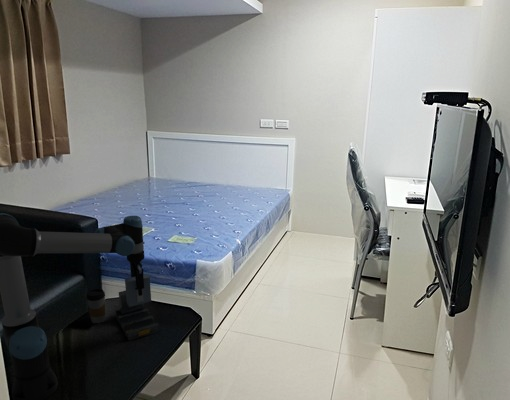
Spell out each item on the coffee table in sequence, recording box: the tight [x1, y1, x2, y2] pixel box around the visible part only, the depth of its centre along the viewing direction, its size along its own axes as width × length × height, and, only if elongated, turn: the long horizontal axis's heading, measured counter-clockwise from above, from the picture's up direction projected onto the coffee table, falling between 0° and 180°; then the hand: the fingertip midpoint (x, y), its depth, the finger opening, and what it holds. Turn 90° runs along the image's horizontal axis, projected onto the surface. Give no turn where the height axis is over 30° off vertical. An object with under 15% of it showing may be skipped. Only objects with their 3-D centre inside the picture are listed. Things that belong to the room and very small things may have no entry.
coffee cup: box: [86, 288, 106, 324], centre depth 199 cm, size 8×8×15 cm
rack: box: [114, 289, 160, 342], centre depth 197 cm, size 14×25×14 cm, turn 31°
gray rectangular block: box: [124, 273, 152, 307], centre depth 187 cm, size 10×4×12 cm, turn 121°
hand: (138, 298), depth 188 cm, fingers closed on gray rectangular block, 4 cm apart
